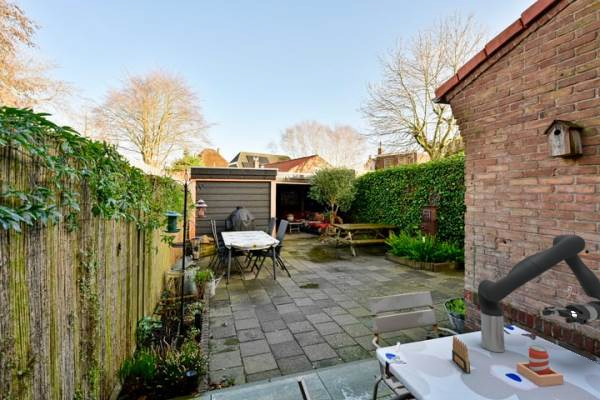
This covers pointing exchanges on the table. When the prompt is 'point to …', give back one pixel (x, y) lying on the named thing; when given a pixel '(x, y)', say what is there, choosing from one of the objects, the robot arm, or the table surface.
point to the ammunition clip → (460, 355)
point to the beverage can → (538, 360)
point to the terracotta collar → (540, 380)
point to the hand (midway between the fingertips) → (554, 316)
